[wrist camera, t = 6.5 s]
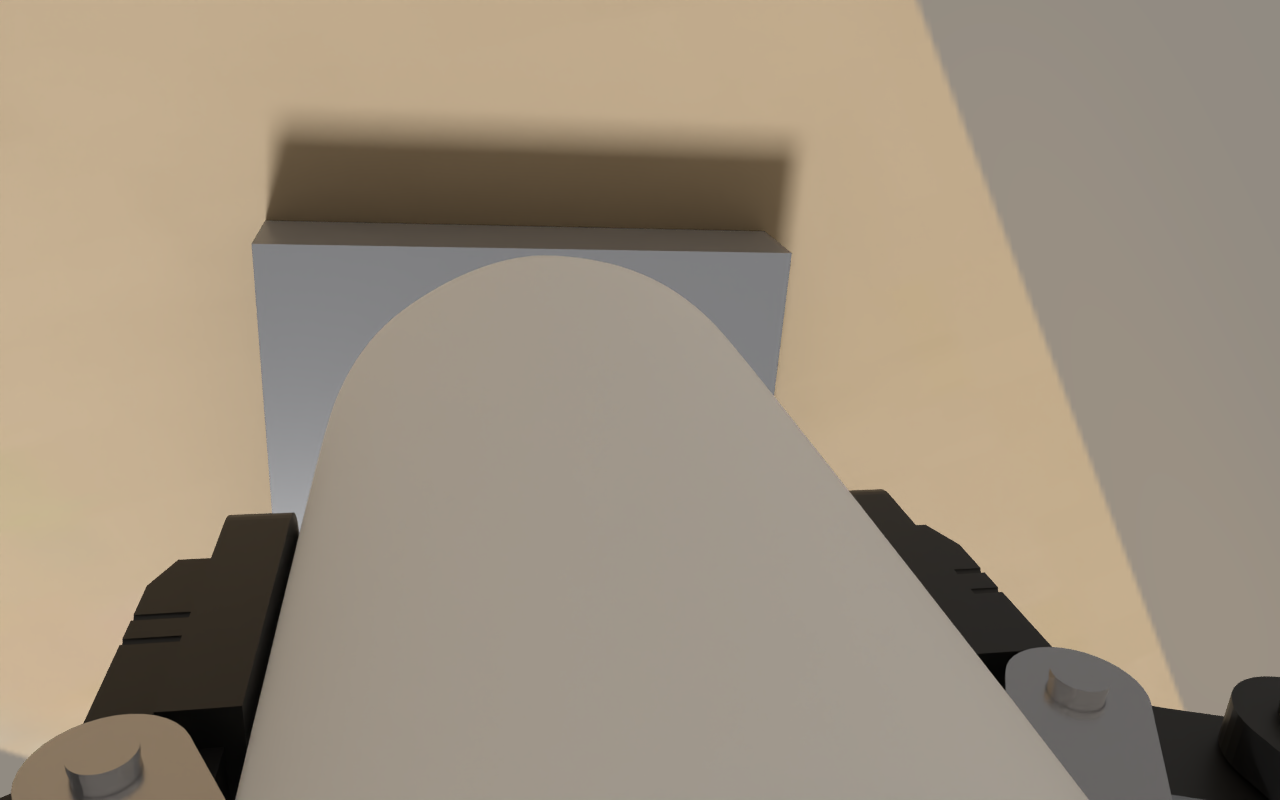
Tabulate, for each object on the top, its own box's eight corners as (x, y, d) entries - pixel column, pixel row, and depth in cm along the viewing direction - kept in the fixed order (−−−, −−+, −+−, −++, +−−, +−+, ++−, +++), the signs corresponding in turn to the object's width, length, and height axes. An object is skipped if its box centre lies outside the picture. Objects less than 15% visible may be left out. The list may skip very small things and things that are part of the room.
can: (690, 182, 15) (1451, 830, 4) (797, 554, 17) (1419, 1567, 6) (246, 338, 14) (-370, 1546, 3) (425, 691, 17) (404, 2002, 6)
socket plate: (295, 654, 33) (286, 704, 31) (265, 220, 28) (251, 244, 26) (718, 629, 36) (738, 674, 34) (764, 231, 31) (791, 252, 29)
